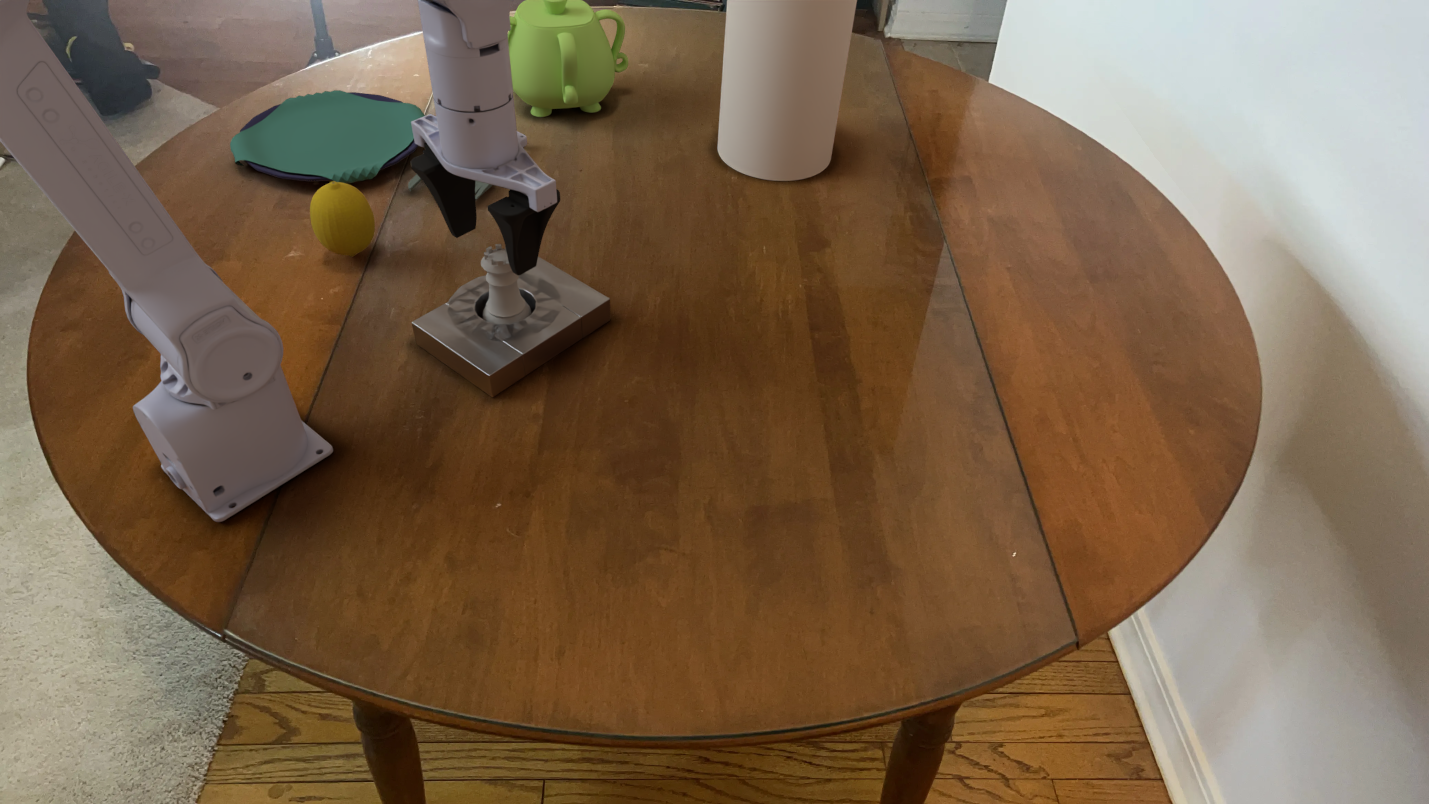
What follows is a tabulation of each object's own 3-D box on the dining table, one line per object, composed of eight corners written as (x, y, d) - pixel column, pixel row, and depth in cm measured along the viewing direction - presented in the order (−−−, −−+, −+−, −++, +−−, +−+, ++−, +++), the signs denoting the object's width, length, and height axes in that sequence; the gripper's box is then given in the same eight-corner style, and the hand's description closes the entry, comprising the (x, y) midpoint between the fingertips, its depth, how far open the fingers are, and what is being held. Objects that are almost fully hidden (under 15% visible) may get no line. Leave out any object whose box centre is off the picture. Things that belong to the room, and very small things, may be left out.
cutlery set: (309, 95, 110) (304, 77, 108) (538, 139, 106) (536, 121, 104) (201, 174, 96) (193, 154, 95) (459, 228, 92) (456, 209, 90)
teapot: (469, 98, 112) (454, -7, 103) (545, 60, 121) (537, -39, 112) (569, 138, 106) (562, 31, 97) (642, 95, 115) (641, -6, 106)
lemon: (365, 276, 85) (346, 203, 80) (311, 266, 86) (288, 193, 80) (392, 244, 89) (375, 172, 84) (339, 235, 90) (320, 163, 84)
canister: (827, 187, 102) (856, 6, 88) (708, 171, 103) (719, -10, 89) (834, 131, 111) (862, -40, 97) (726, 117, 112) (738, -54, 98)
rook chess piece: (536, 311, 83) (529, 238, 77) (530, 343, 80) (522, 269, 74) (487, 310, 83) (476, 236, 77) (479, 341, 79) (467, 267, 74)
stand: (492, 398, 75) (488, 375, 73) (409, 339, 79) (404, 317, 77) (610, 320, 83) (610, 298, 81) (529, 271, 87) (526, 249, 86)
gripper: (583, 110, 65) (589, 265, 75) (453, 48, 71) (474, 199, 81) (508, 144, 61) (525, 303, 70) (377, 75, 67) (408, 230, 77)
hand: (493, 250), depth 75 cm, fingers open, 7 cm apart
